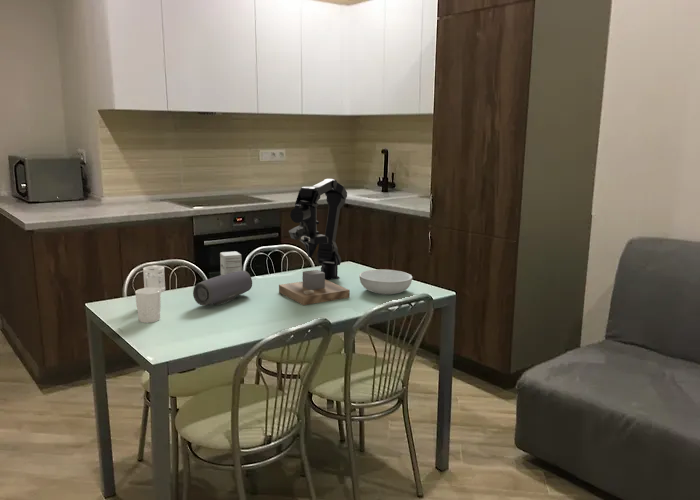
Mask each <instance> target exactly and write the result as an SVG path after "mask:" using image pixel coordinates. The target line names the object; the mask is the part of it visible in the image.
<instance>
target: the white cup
mask: <svg viewBox="0 0 700 500" xmlns="http://www.w3.org/2000/svg"><path fill="white" fill-rule="evenodd" d="M134 293H135V302H136V308H137V310H136V311H137V316H138V317H137V318H138V321H139V322H140V323H145V324H148V323H155V322H158V321H159V320H161V308H162V307H161V298H162V297H161V294H162V292H161V290H160V289H158V288H144V287H143V288H139V289H137V290H135V292H134Z"/></svg>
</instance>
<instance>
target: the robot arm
mask: <svg viewBox="0 0 700 500" xmlns="http://www.w3.org/2000/svg"><path fill="white" fill-rule="evenodd" d="M323 194H324V195H325V197H326V202H327V205H328V213H327V219H326V225H325V232H324V234H320V231H318V227H317V226H318V225H319V224H320V221H319V220H318V219H317V215H318V212H317V208H318V206H319V203H318V201H319V200H320V199H321V196H322V195H323ZM347 198H348V191H347V189H346V188H345V187H344V185H342V184H340V183H339V182H338V181H337V179H334V178H325V179H323V180H322V181H319V182H318V183H316V184H314V185H311V186H307V185H306V186H302V187H300V189H299V191H298V193H297V196H296V199H295V202H294V208H293V209H292V210H291V211H290V220H292V221H293V223H295V224H296V223H297V224H299V225H297V226H295V227H293V228H291V229H289V230H288V233H289V236H290V239H294V241H296V240H297V241H298V240H299V242H301V243H302V244H303V246H304V248H305V251H306V254H307V257H308V258H312V257H313V255H314V253H315V251H316V249H317V247H318V250H317V253H316V257H317V262H318V263H317V264H321V267H320V271H321V272H324V273H325V280H328V281H330V280H335V279H340V276H338V270H339V269H338V266H340V265H341V263H342V258H341V256H340V254H339V248H338V246H337V243H336V241H337V240H336V239H337V235H338V234H337V233H338V226H339V219H340V212H341V209H342V208H343V206H345V204H346V200H347Z"/></svg>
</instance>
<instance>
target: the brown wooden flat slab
mask: <svg viewBox="0 0 700 500" xmlns="http://www.w3.org/2000/svg"><path fill="white" fill-rule="evenodd" d="M350 292H351V291H350V289H349V288H346V287H344V286H342V285H339V284H337V283H334V282H332V281H330V280H326V279H325V288H322V289H315V290H309V289H306V288H304V287H303V280H302V281H297V282H290V283H289V282H288V283H282V284H278V293H280V294H282V295H283V296H285V297H287V298H289V299H290V300H293V301H295V302H297V303H298V304H300V305H302V306H306V305H313V304H318V303H323V302H324V303H325V302H330V301H338V300H343V299H348V298H350Z"/></svg>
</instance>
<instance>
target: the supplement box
mask: <svg viewBox="0 0 700 500" xmlns="http://www.w3.org/2000/svg"><path fill="white" fill-rule="evenodd" d="M219 257H220V258H219V259H220V260H219V262H220V275H224V274H227V273H232V272H236V271H243V265H242V261H243V260H242V254H241V253H240V252H238V251H235V250H234V251H222V252H220V253H219Z"/></svg>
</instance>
